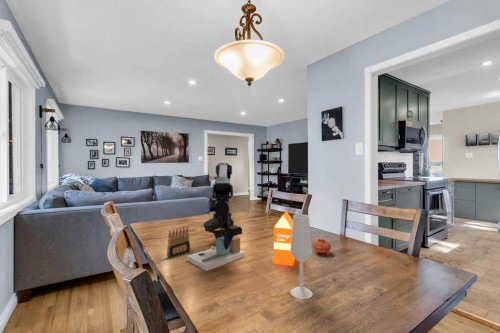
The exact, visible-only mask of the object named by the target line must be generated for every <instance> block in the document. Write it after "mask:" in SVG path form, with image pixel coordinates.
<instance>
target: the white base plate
mask: <svg viewBox="0 0 500 333" xmlns="http://www.w3.org/2000/svg"><path fill="white" fill-rule="evenodd" d="M245 252H246V251H244V250H241V237H239V236H237V235H236V236H234V237H233V239H232V240H231V243H230V253H227V254H224V255H221V254H218V253H216V250H212V249H211V248H209V249H205V250H203V251H202V250H201V251H200V252H195V253H193V254H189V255H186V257H187V258H186V259H187V262H189V263H190V264H193V265H194V266H196V267H198V268H200V269H202V270H204V271H205V272H208V271H210V270H211V271H212V270H213V269H216V268H218V267H221V266H224V265H226V264H229V263H231V262H234V261H237V260H240V259H242V258H245V257H246V253H245Z"/></svg>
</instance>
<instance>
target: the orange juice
mask: <svg viewBox="0 0 500 333" xmlns="http://www.w3.org/2000/svg"><path fill="white" fill-rule="evenodd" d="M292 225H293V217H292V216H291V215H290V214H289V212H288V210H286V211H284V213H283V214H282V215H281V217H280V218H279V220H278V221H277V223H275V225H274V227H273V261H274V262H273V264H278V265H284V266H291V267H292V266H293V265H294V264H295V263H294V262H295V261H296V259H295V258H294V257H293V255H292V254H291V252H290V248H291V237H292Z"/></svg>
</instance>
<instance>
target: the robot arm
mask: <svg viewBox="0 0 500 333" xmlns="http://www.w3.org/2000/svg"><path fill="white" fill-rule="evenodd" d="M215 175H216V179H215V180H214V184H212V199H215V204H214V206H213V210H214V213H213V215H212V218H210V219H208V220H206V221H205V222H204V223H202V225H203V228H204V230H205V232H208V233H211V234H213V235H214V238H215V239H216V238H219V237H224V245H225V250H226V249H228V247H229V245H230V243H231V240H232V239H233V237H234V236H236V237H237V236H239V235H243V228H242V227H241V226H239V225H235V224H234V223H235V221H234V220H233V218H232V212H230V199H232V197H233V196H234V186H233V184H232V183H231V182H230V181H231V180H230V179H231V177H232V176H231V175H233V166H232V165H230V164H229V163H228V162H218V164H217V165H215Z"/></svg>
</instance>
